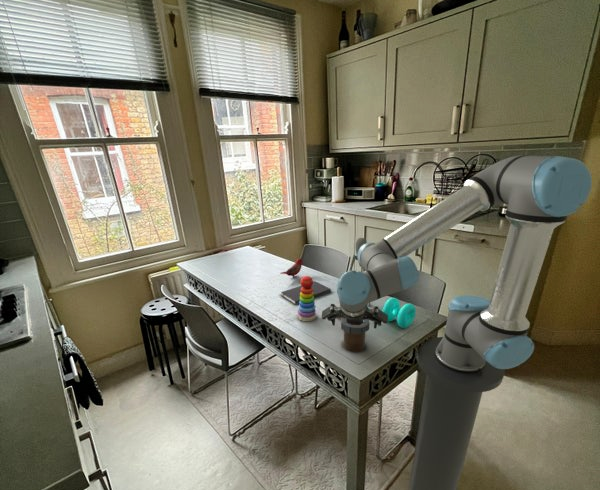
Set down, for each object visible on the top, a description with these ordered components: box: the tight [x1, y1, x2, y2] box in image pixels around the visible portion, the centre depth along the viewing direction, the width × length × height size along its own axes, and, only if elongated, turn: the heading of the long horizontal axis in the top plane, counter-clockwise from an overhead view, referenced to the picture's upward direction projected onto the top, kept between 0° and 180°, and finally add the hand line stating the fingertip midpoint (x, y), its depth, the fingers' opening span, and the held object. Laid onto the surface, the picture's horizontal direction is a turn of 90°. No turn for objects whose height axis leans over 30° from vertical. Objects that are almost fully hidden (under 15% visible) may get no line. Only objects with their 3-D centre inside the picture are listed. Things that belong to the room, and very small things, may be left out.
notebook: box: [280, 280, 331, 305], centre depth 155 cm, size 13×2×21 cm
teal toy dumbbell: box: [381, 297, 417, 329], centre depth 125 cm, size 10×10×10 cm
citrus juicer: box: [348, 237, 371, 307], centre depth 138 cm, size 11×10×30 cm
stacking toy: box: [297, 275, 317, 322], centre depth 130 cm, size 8×8×19 cm
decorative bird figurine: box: [280, 257, 304, 279], centre depth 171 cm, size 3×18×10 cm, turn 136°
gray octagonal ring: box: [340, 318, 371, 334], centre depth 111 cm, size 10×10×2 cm
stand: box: [343, 322, 367, 353], centre depth 113 cm, size 8×8×8 cm
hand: (354, 323), depth 106 cm, fingers open, 13 cm apart
